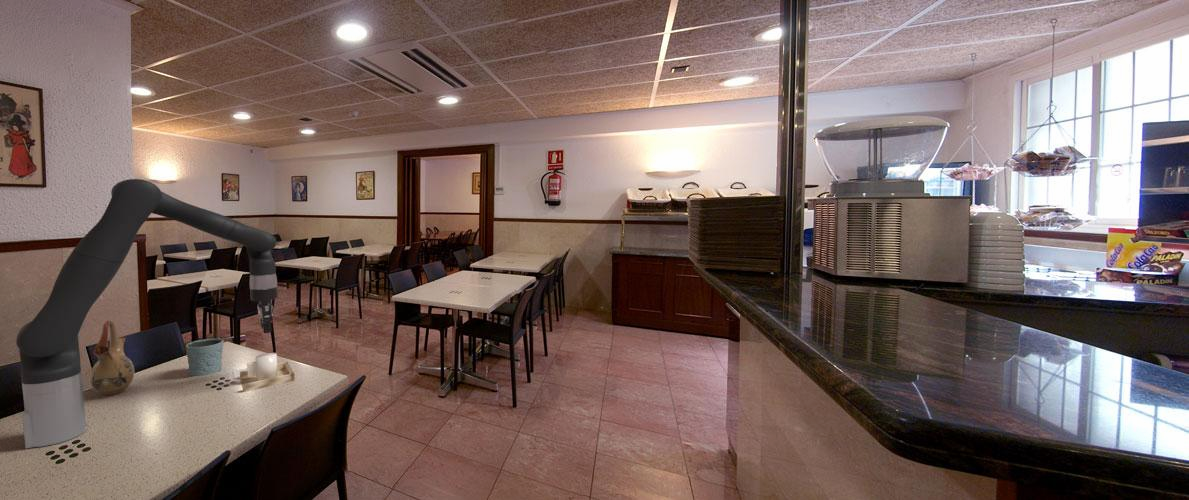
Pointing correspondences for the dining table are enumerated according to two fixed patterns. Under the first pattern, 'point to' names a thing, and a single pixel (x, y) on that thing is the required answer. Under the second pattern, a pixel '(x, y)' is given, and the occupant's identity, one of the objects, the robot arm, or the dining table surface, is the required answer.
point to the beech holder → (252, 384)
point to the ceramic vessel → (111, 364)
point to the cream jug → (263, 367)
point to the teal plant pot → (204, 356)
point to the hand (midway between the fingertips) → (266, 329)
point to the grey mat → (238, 373)
